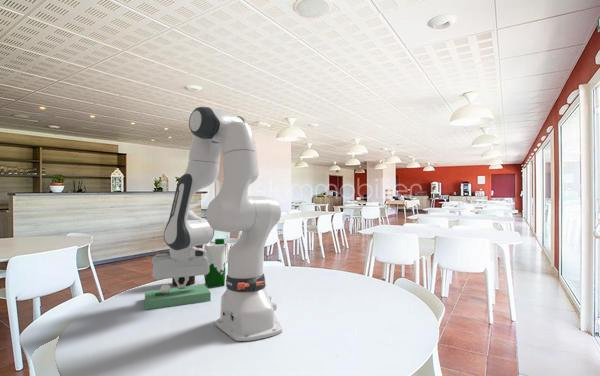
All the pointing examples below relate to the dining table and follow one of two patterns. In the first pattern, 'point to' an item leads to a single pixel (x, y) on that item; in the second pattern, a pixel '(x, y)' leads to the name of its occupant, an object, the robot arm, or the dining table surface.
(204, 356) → the dining table surface
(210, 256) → the milk carton
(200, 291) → the putting mat
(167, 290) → the golf ball
